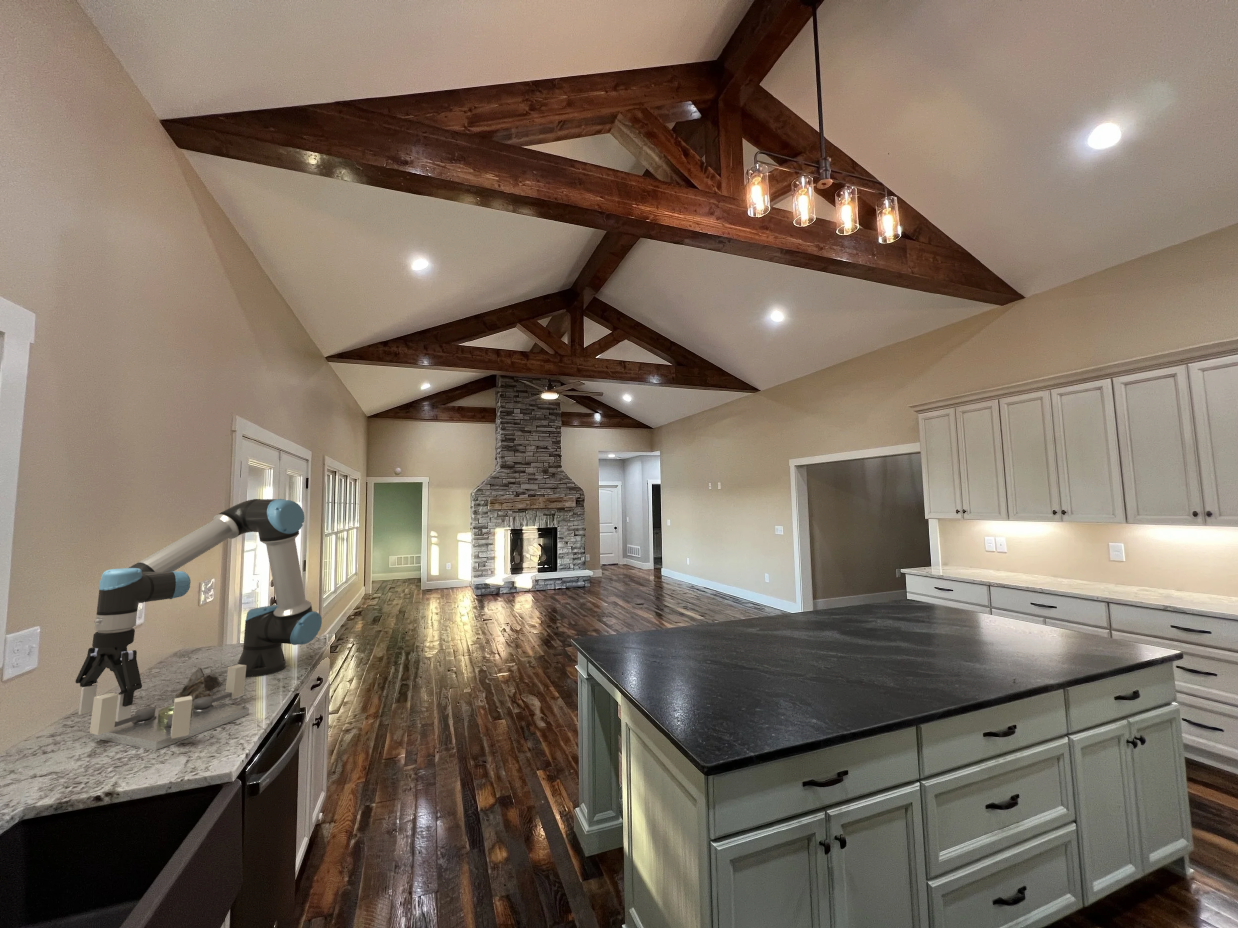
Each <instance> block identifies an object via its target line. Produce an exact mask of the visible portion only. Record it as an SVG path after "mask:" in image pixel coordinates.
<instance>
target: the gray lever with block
mask: <svg viewBox="0 0 1238 928" xmlns="http://www.w3.org/2000/svg"><path fill="white" fill-rule="evenodd" d="M237 664H238V663H237ZM237 664H235V665H231V666H228V667H227V674H226V683H225V684H226V685H225V692H222V693H220V694H216V695H213V696H211V697H210V696H207V697H201V698H197V699H195V700H194V709H202V708H207V707H210V706H211V705H212V703H214V702H217V703H218V702H219V701H222V700H226V699H229V698H231V699H235V698H237V697H241V696H243V695H244V693H245V684H246V677H245V676H246V665H240V664H238V665H237Z"/></svg>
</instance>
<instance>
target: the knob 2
mask: <svg viewBox="0 0 1238 928" xmlns="http://www.w3.org/2000/svg"><path fill="white" fill-rule="evenodd" d="M173 704H174V709H173V715H170V716H169V717H168V721H167V726H168V727H171V739H172V738H177V737H181V736H186V735H189V726H190V717H191V707H192V696H187V697H181V698H176V699H175V700H174V702H173Z"/></svg>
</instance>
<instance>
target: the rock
mask: <svg viewBox="0 0 1238 928" xmlns="http://www.w3.org/2000/svg"><path fill="white" fill-rule="evenodd" d="M221 684H222V681H221V680H220V678H219V677H218V676H216V675H211V674H206V675H205V673H204V671H203V669H202V667H198V668H197V669H195V671H193V672H192V673H191V675H190V678H189V679H188V681H187V682H186V683H185V684H184V686H183V688H182V689H181V690H179V691H178V692H177V694H175V697H174V698H173V699H172V700H171V701H173V702H172V703H174V700H175V699H176V698H181V697H187V696H192V699H197V698H201V697H207V696H210V697H212V693H211V692H213V691H214V690H216V689H218V688H220V686H221Z"/></svg>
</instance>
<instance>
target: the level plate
mask: <svg viewBox="0 0 1238 928" xmlns="http://www.w3.org/2000/svg"><path fill="white" fill-rule="evenodd" d="M194 700H195V699H192V707H191V717H190V726H189V735H186V736H181V737H177V738H172V739H171V727H168V726H167V721H168V717H169V716H170V715H173V709H174V703H171V704H168V705H166V706H161V707H159V708H156V709H155V716H154V717H153V718H150V719H147V720H141V721H133V722H130V723H126V724H123V725H120V726H117V727H114V730H111V731H108V732H105V733H102V734H99V735H97V734H92V733H91V739H98V740H103V741H107V742H111V743H112V742H113V743H117V744H121V745H126V746H131V747H136V748H140V749H141V748H142V749H145V750H146V749H147V750H151V751H158V750H160V749H163V748H166V747H168V746H170V745H173V744H176V743H179V742H181V741H184V740H187V739H189V738H192V737H194V736H196V735H197V736H198V735H199V734H202V733H205V732H207V731H211V730H213V729H215V728H218V727H221V726H222V725H225V724H227V723H231V722H233V721H235V720H238V719H241V718H243V717H246V716H248V715H249V707H247V706H242V705H241V706H240V705H235V704H229V703H223V702H218V701H217V702H214V703H212V705H211V706H210V707H207V708H202V709H194Z"/></svg>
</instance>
